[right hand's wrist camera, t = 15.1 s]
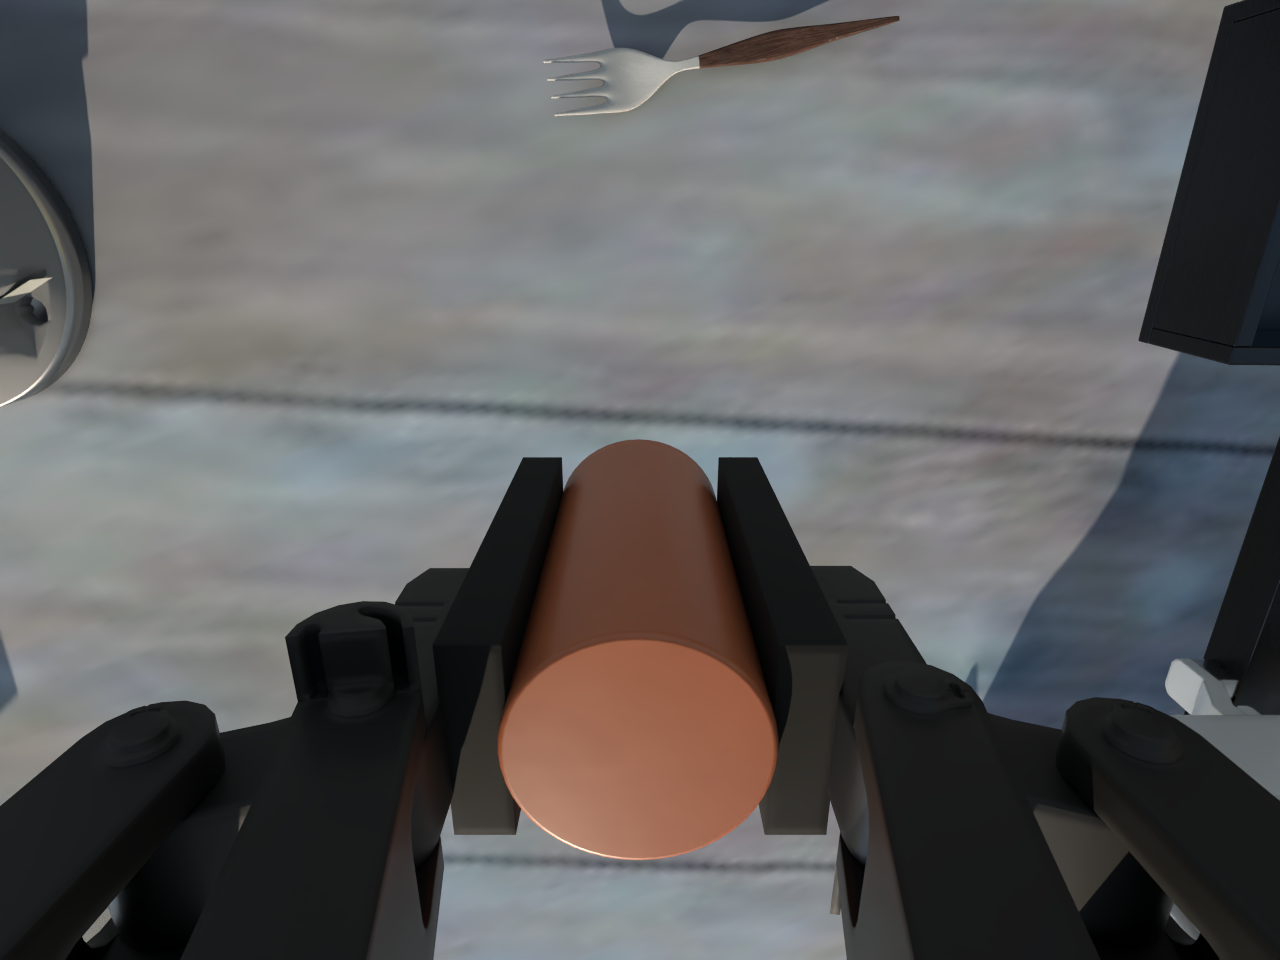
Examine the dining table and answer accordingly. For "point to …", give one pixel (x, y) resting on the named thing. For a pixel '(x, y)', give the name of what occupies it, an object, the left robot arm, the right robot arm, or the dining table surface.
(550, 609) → the peg
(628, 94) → the fork
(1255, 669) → the pan
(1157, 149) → the dining table surface
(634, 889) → the dining table surface
